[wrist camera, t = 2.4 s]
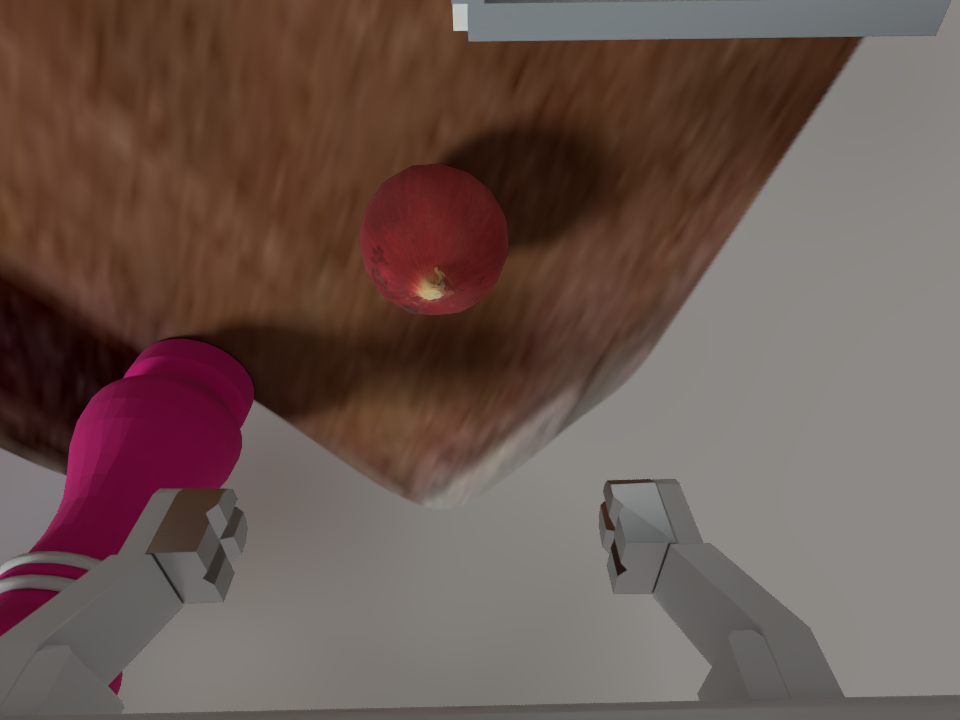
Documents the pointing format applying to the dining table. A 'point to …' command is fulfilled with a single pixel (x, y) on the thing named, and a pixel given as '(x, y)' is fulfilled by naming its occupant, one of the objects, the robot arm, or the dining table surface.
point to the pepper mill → (133, 463)
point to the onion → (434, 240)
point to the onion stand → (693, 19)
